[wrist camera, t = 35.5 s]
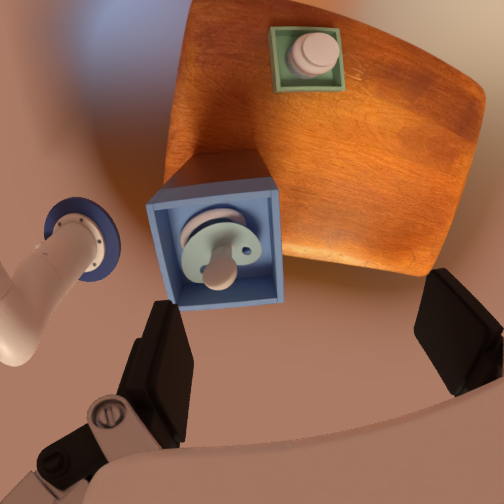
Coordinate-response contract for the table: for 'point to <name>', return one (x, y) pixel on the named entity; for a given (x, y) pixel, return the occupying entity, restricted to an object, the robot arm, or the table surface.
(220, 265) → the pacifier
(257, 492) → the robot arm
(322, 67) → the pill bottle
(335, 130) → the table surface
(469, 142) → the table surface
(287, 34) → the green bin
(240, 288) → the blue bin
